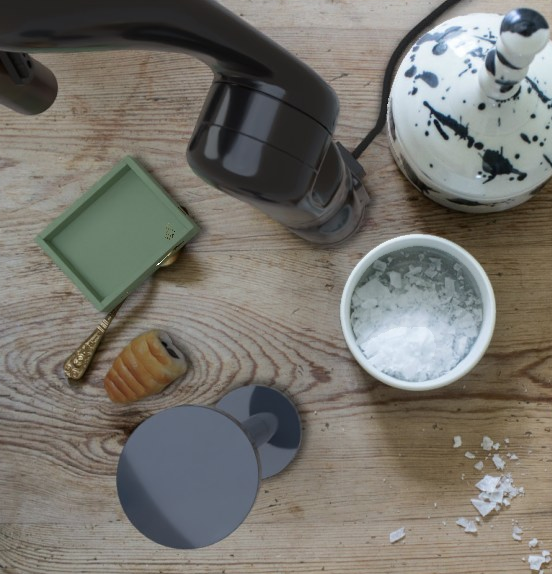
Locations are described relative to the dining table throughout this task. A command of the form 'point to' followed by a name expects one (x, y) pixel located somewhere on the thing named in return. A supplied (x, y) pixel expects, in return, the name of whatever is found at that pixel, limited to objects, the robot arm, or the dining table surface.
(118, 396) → the pastry
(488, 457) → the dining table surface
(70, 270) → the tray
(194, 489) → the stand
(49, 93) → the pepper mill
